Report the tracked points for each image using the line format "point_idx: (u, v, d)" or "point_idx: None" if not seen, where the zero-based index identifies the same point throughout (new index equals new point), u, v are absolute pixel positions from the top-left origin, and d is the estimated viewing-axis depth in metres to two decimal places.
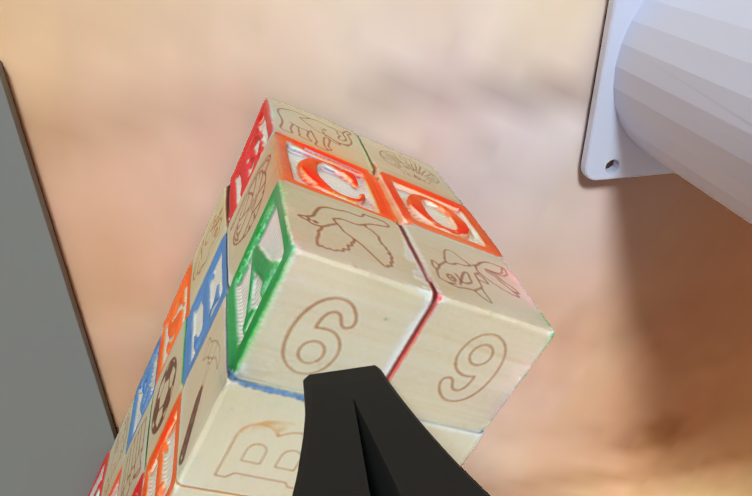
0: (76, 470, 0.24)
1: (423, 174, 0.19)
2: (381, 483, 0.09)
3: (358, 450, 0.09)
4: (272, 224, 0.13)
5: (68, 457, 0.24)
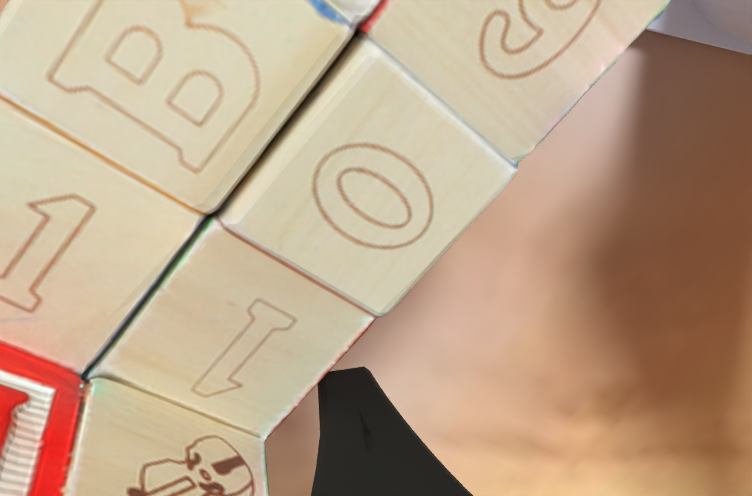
0: None
1: None
2: None
3: (376, 447, 0.09)
4: None
5: None
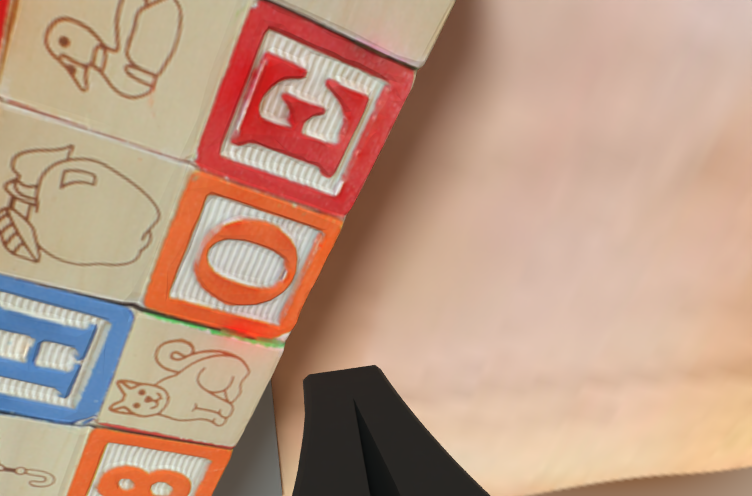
0: None
1: None
2: (381, 483, 0.09)
3: (358, 450, 0.09)
4: None
5: None
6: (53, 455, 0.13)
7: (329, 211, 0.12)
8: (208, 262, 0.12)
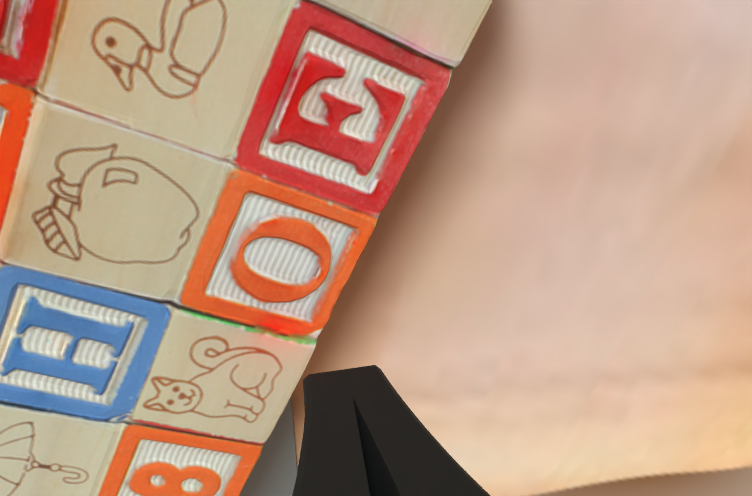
0: None
1: None
2: (381, 483, 0.09)
3: (358, 450, 0.09)
4: None
5: None
6: (87, 451, 0.13)
7: (363, 209, 0.12)
8: (243, 260, 0.12)
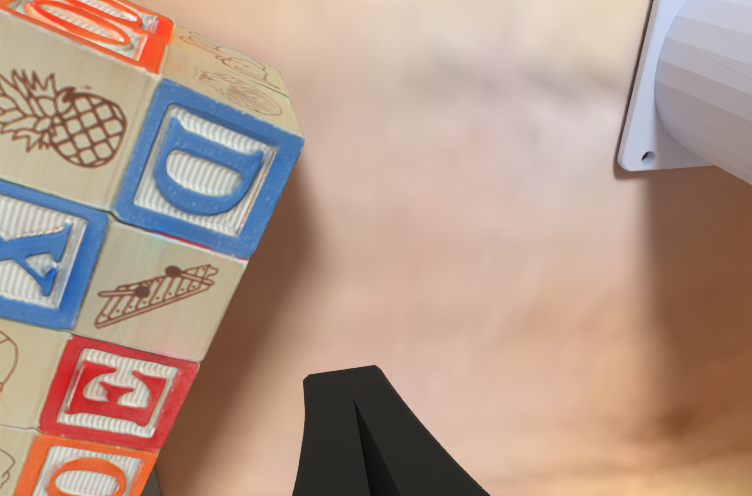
0: None
1: (236, 96, 0.13)
2: (381, 483, 0.09)
3: (358, 450, 0.09)
4: None
5: None
6: None
7: (146, 448, 0.16)
8: (55, 486, 0.16)
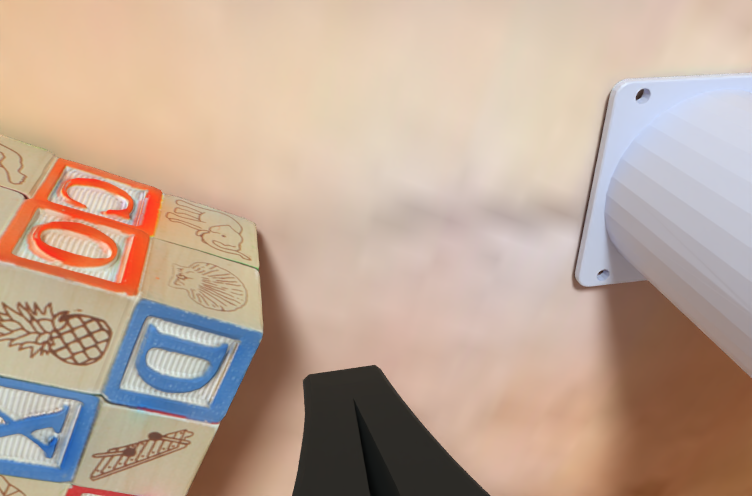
0: None
1: (206, 294, 0.15)
2: (381, 483, 0.09)
3: (358, 450, 0.09)
4: None
5: None
6: None
7: None
8: None
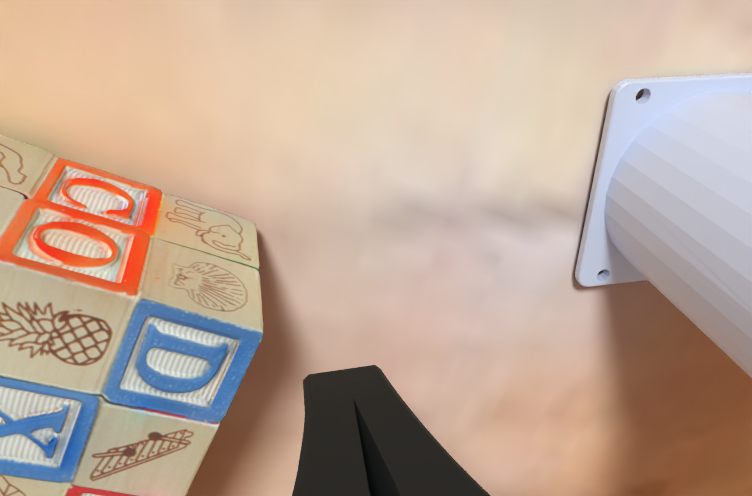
0: None
1: (206, 294, 0.15)
2: (381, 483, 0.09)
3: (358, 450, 0.09)
4: None
5: None
6: None
7: None
8: None
